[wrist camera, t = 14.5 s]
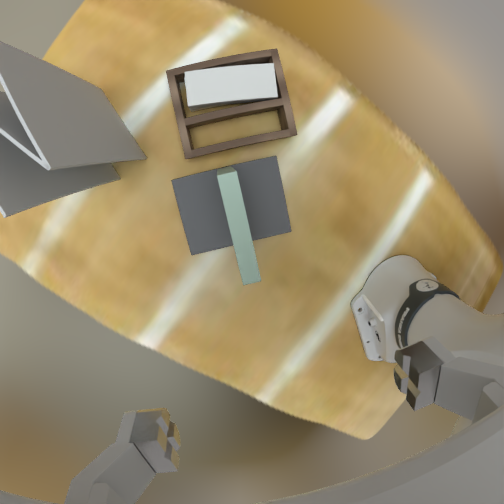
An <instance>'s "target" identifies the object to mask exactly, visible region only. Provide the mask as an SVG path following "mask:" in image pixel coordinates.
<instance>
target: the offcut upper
mask: <svg viewBox="0 0 504 504" xmlns="http://www.w3.org/2000/svg"><path fill="white" fill-rule="evenodd" d="M185 82H186V92H187V103H188V107H189V109H194V108H202V107H209V106H217V105H226V104H236V103H246V102H258V101H268V100H274V99H276V98H277V97H278V94H277V86H276V78H275V69H274V63H267V64H251V65H238V66H227V67H218V68H209V69H201V70H194V71H187V72H185Z"/></svg>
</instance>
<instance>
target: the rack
mask: <svg viewBox="0 0 504 504" xmlns="http://www.w3.org/2000/svg"><path fill="white" fill-rule="evenodd" d="M266 63H274V69H275V78H276V86H277V94H278V97H277V98H276V99H274V100H268V101H262V102H257V103H251V104H246V105H241V106H236V107H231V108H227V109H222V110H218V111H213V112H209V113H205V114H201V115H196V116H192V117H189V118H186V114H185V109H184V105H183V100H182V96H181V91H180V86H179V83H180V82H184V81H185V80H184V78H185V72H187V71H194V70H201V69H209V68H218V67H227V66H238V65H251V64H266ZM166 73H167V78H168V83H169V88H170V92H171V97H172V101H173V106H174V111H175V115H176V120H177V124H178V128H179V133H180V137H181V142H182V146H183V150H184V154H185V159H190V158H194V157H198V156H202V155H206V154H210V153H214V152H218V151H223V150H227V149H231V148H236V147H240V146H245V145H250V144H255V143H259V142H264V141H269V140H275V139H280V138H285V137H291V136H295V135H297V131H296V126H295V121H294V117H293V112H292V108H291V104H290V99H289V95H288V91H287V87H286V82H285V78H284V74H283V70H282V66H281V62H280V58H279V54H278V50H277V49H270V50H263V51H256V52H250V53H244V54H238V55H233V56H227V57H222V58H217V59H212V60H208V61H203V62H199V63H195V64H191V65H186V66H183V67H179V68H175V69H171V70H167V71H166ZM273 110H277V111H278V116H279V120H280V125H281V129H282V130H281V131H276V132H270V133H265V134H260V135H255V136H250V137H246V138H241V139H236V140H232V141H227V142H223V143H219V144H214V145H210V146H206V147H202V148H198V149H193V144H192V140H191V136H190V131H189V128H193V127H197V126H201V125H205V124H209V123H214V122H218V121H222V120H227V119H232V118H236V117H241V116H246V115H251V114H256V113H262V112H267V111H273Z"/></svg>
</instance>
